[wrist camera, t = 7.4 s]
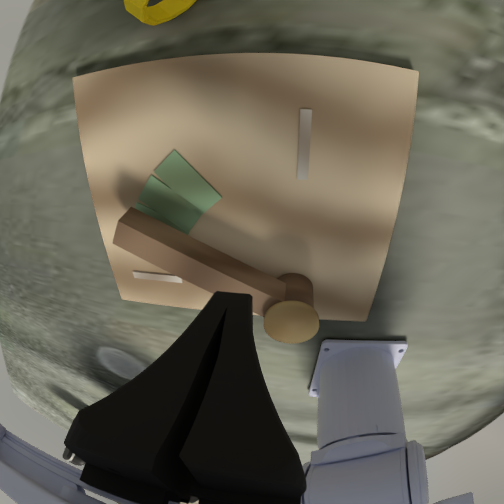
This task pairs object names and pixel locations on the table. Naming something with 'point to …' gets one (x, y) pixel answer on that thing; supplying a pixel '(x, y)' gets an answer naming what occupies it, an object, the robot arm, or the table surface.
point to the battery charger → (72, 457)
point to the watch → (157, 10)
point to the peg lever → (223, 275)
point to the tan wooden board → (253, 166)
